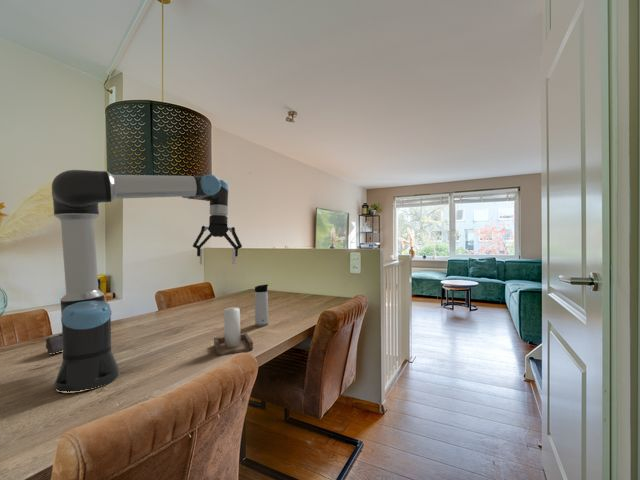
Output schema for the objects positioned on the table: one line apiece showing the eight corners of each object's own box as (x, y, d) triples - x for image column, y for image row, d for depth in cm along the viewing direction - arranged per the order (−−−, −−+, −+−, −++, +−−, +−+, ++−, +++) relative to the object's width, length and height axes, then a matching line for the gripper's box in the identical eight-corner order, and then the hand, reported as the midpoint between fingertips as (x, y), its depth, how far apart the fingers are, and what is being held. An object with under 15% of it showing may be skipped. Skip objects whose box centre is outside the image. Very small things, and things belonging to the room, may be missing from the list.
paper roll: (225, 348, 113) (224, 311, 113) (223, 343, 119) (222, 308, 119) (242, 345, 116) (241, 309, 116) (239, 341, 121) (238, 306, 121)
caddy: (217, 355, 109) (217, 347, 109) (214, 345, 120) (213, 338, 120) (252, 349, 115) (252, 342, 115) (246, 340, 125) (246, 333, 125)
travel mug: (265, 326, 145) (265, 285, 145) (253, 326, 146) (252, 285, 146) (270, 323, 151) (270, 283, 151) (258, 322, 152) (257, 283, 152)
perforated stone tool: (76, 343, 125) (76, 327, 125) (88, 343, 125) (87, 327, 125) (39, 357, 110) (39, 339, 110) (52, 358, 110) (51, 339, 110)
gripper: (245, 218, 140) (244, 263, 138) (187, 215, 129) (185, 264, 128) (249, 216, 133) (248, 264, 132) (187, 212, 122) (186, 264, 121)
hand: (217, 264), depth 130 cm, fingers open, 13 cm apart
